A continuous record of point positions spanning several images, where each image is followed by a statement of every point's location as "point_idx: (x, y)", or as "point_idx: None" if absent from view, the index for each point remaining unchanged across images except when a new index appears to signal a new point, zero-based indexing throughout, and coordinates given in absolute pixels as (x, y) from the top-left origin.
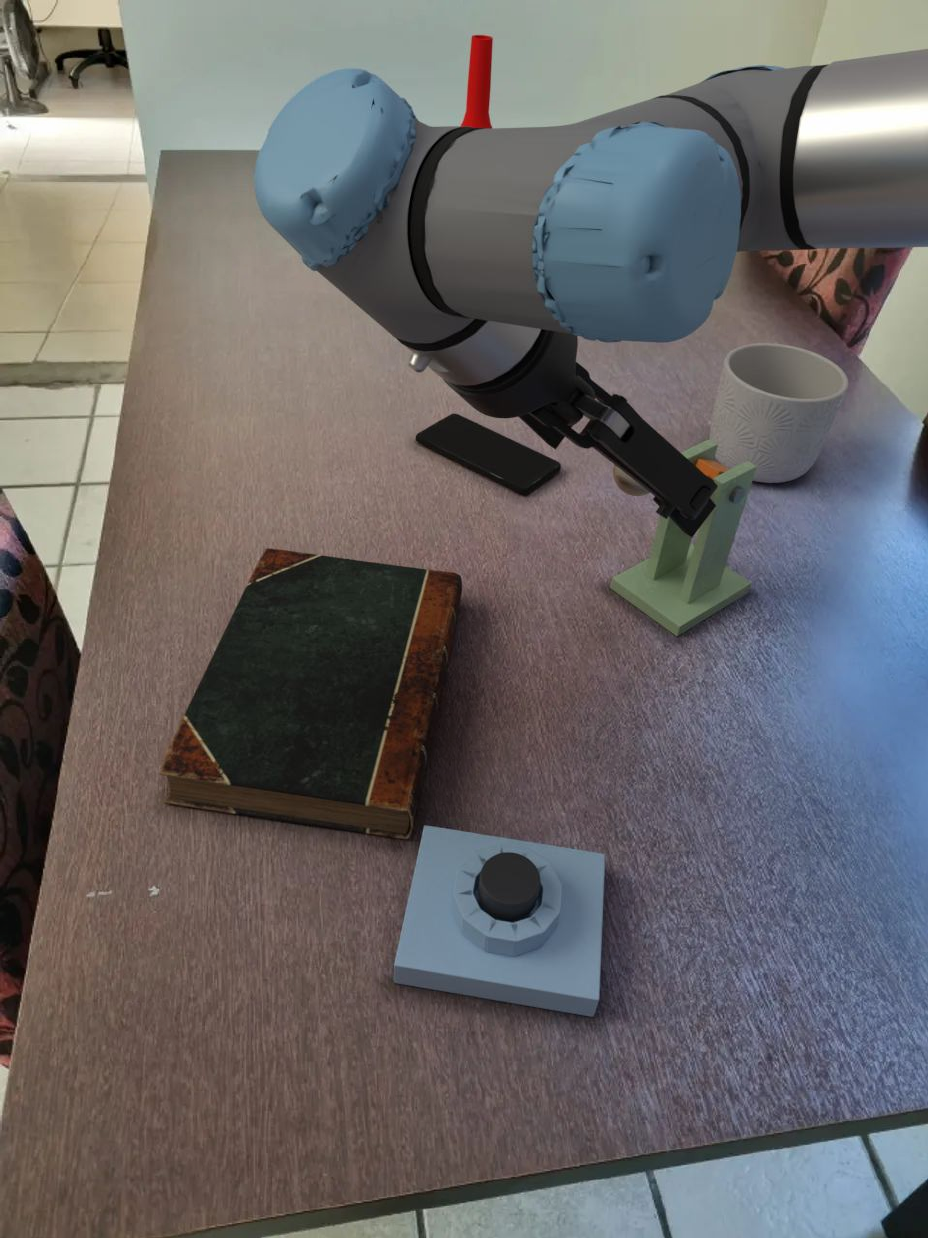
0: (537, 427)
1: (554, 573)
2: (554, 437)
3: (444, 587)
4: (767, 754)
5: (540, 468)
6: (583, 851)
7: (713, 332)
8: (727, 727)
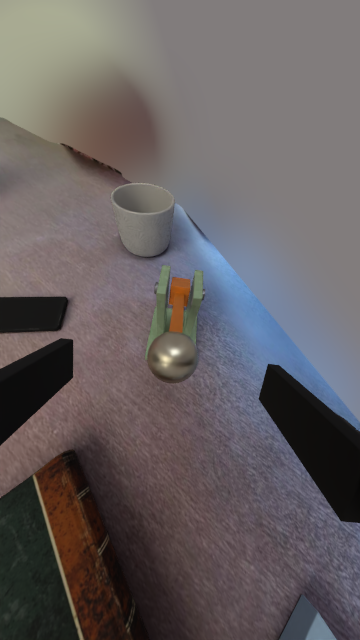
0: (29, 412)
1: (113, 372)
2: (63, 378)
3: (58, 481)
4: None
5: (56, 307)
6: (311, 631)
7: (83, 191)
8: (251, 403)
